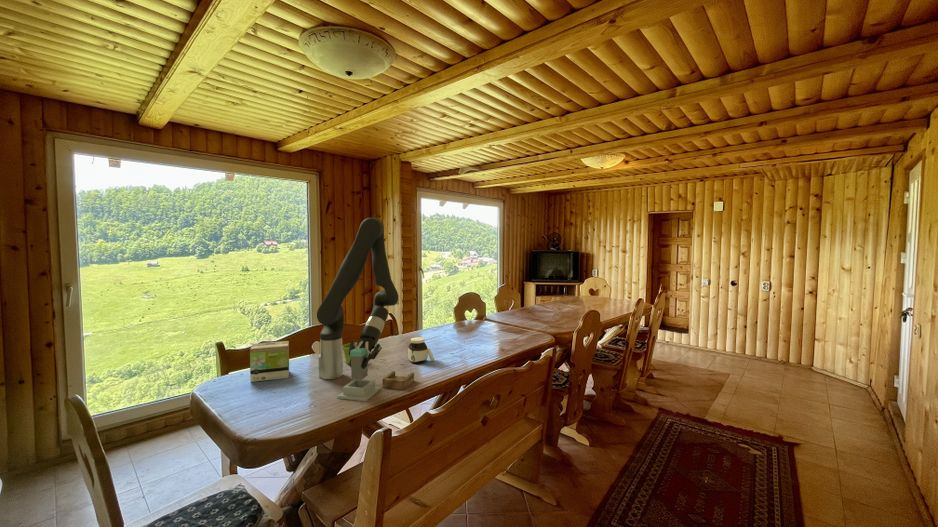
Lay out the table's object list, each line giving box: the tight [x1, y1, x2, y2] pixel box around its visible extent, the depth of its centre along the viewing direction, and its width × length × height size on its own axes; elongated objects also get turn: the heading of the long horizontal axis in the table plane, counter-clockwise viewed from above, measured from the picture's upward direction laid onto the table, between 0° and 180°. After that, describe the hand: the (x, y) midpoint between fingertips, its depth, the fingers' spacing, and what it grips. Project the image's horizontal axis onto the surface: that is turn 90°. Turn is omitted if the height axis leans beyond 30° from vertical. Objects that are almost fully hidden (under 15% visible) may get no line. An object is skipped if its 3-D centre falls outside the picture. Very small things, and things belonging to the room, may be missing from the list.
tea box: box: [249, 340, 290, 383], centre depth 168 cm, size 15×10×15 cm
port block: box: [337, 379, 381, 402], centre depth 150 cm, size 12×12×4 cm
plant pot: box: [342, 342, 358, 365], centre depth 188 cm, size 9×9×9 cm
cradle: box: [382, 370, 415, 390], centre depth 160 cm, size 10×10×4 cm
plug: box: [350, 348, 369, 380], centre depth 149 cm, size 5×5×11 cm
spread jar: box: [407, 336, 435, 365], centre depth 190 cm, size 12×11×12 cm
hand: (356, 367), depth 147 cm, fingers closed on plug, 4 cm apart
